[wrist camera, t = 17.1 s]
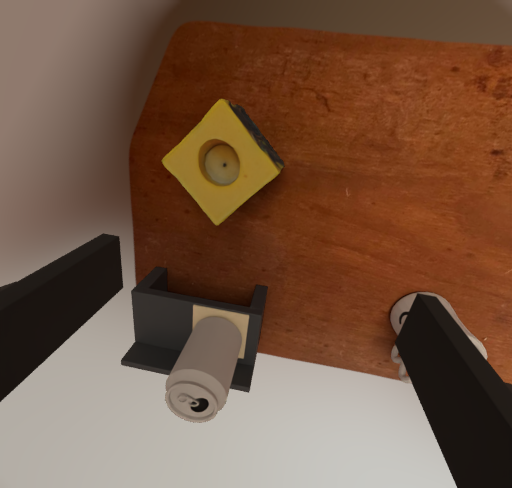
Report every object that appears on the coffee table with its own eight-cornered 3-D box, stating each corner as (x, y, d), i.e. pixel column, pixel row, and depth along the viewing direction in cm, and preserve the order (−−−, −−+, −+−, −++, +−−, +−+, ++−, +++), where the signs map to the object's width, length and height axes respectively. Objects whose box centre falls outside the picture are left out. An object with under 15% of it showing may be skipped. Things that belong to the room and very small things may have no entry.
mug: (415, 279, 43) (446, 321, 34) (463, 307, 43) (506, 356, 34) (364, 331, 48) (379, 379, 39) (407, 356, 48) (432, 409, 39)
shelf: (158, 316, 53) (121, 365, 42) (156, 266, 49) (114, 306, 38) (260, 336, 52) (249, 392, 41) (267, 286, 47) (257, 334, 36)
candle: (234, 207, 42) (216, 229, 33) (189, 154, 40) (156, 162, 31) (287, 164, 39) (283, 176, 30) (240, 103, 37) (220, 95, 28)
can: (225, 359, 44) (200, 437, 33) (186, 333, 43) (147, 404, 32) (253, 332, 41) (235, 407, 30) (212, 304, 40) (178, 370, 29)
